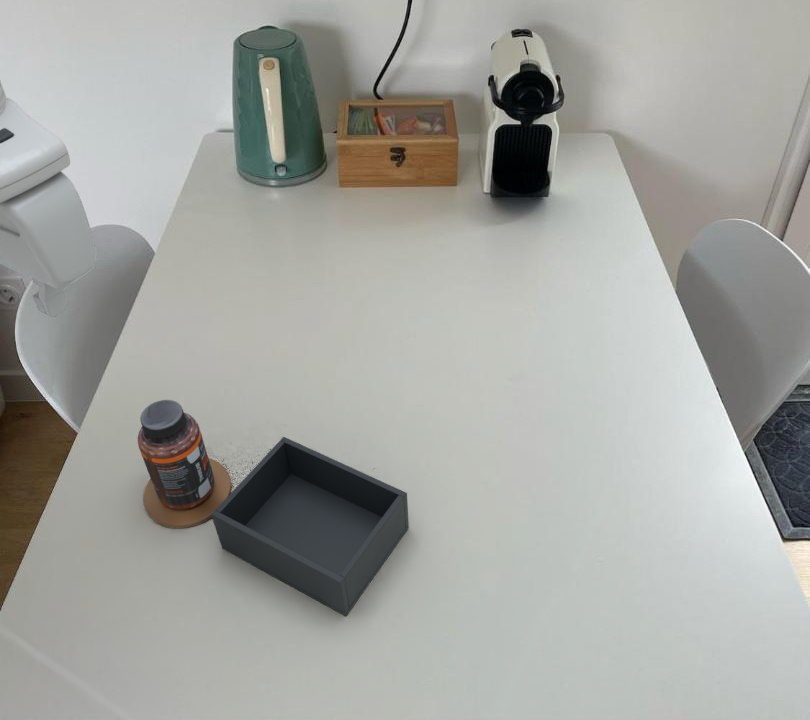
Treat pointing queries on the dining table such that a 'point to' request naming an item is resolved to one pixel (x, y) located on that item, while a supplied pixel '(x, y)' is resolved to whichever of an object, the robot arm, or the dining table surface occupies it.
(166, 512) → the coaster
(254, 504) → the bin
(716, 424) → the dining table surface
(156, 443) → the supplement bottle
